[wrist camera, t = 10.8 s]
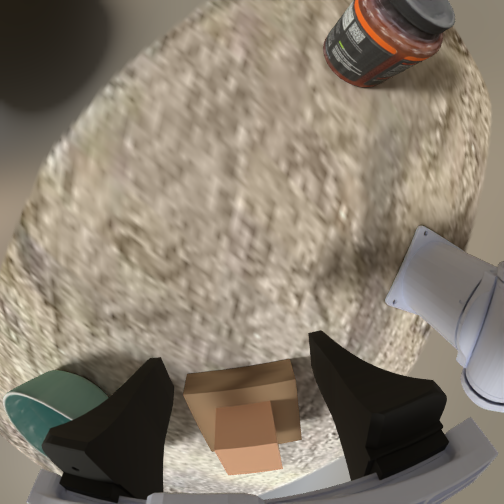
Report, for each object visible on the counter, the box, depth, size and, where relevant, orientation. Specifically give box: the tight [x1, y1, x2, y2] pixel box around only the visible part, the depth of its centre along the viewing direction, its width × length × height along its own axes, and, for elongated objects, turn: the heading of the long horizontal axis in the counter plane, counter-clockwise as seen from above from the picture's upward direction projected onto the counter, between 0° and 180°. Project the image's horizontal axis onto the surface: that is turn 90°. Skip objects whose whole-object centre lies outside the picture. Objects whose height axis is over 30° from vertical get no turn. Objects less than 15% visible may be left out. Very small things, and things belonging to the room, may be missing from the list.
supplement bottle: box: [323, 0, 455, 87], centre depth 12 cm, size 6×6×11 cm
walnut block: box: [183, 359, 302, 452], centre depth 25 cm, size 10×10×3 cm
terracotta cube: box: [214, 401, 283, 475], centre depth 21 cm, size 5×5×5 cm
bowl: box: [3, 370, 109, 459], centre depth 22 cm, size 16×16×8 cm
